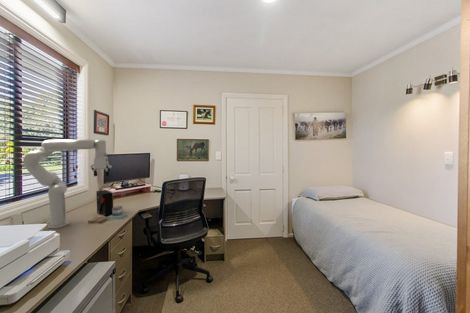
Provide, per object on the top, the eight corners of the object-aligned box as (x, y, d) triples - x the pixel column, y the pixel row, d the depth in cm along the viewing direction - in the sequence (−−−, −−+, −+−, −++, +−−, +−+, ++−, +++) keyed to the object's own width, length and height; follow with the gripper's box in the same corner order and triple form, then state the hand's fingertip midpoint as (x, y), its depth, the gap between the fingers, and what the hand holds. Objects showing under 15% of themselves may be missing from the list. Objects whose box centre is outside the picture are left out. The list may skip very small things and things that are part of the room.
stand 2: (108, 219, 192) (108, 216, 192) (115, 215, 202) (115, 213, 202) (120, 219, 192) (120, 216, 192) (126, 215, 202) (126, 213, 202)
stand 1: (87, 223, 182) (87, 220, 182) (96, 219, 192) (96, 216, 192) (100, 223, 181) (100, 220, 181) (107, 219, 191) (107, 217, 191)
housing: (116, 213, 201) (116, 205, 200) (122, 213, 200) (122, 205, 200) (112, 216, 194) (111, 207, 193) (117, 216, 193) (117, 207, 193)
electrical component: (115, 214, 205) (114, 192, 204) (102, 217, 197) (102, 194, 196) (108, 210, 217) (107, 189, 216) (96, 213, 209) (95, 191, 208)
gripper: (113, 154, 190) (114, 175, 191) (93, 155, 191) (94, 175, 192) (108, 155, 183) (109, 176, 184) (87, 155, 184) (88, 176, 184)
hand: (101, 176), depth 188 cm, fingers open, 9 cm apart
